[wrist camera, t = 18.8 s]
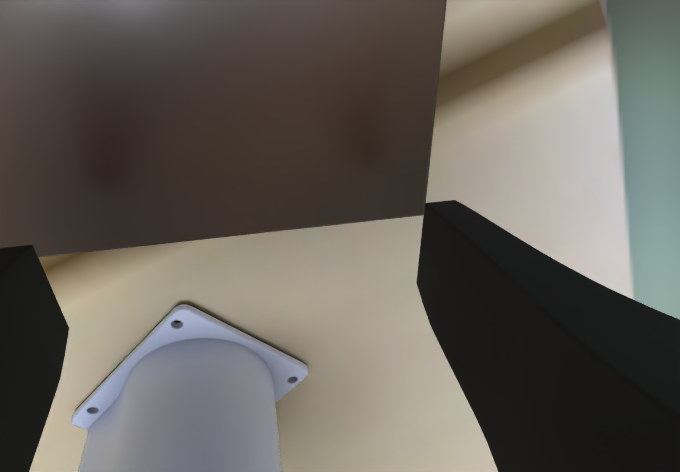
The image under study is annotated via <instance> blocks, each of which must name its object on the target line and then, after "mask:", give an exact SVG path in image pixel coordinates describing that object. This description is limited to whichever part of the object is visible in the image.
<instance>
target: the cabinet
mask: <svg viewBox="0 0 680 472" xmlns="http://www.w3.org/2000/svg"><path fill="white" fill-rule="evenodd" d="M446 1H447V0H0V248H5V247H15V246H24V245H33V247H34V249H35V252H36V254H37V256H38V257H46V256H55V255H64V254H74V253H83V252H92V251H101V250H110V249H119V248H128V247H137V246H147V245H156V244H165V243H174V242H183V241H192V240H201V239H210V238H219V237H229V236H238V235H247V234H256V233H265V232H274V231H283V230H292V229H302V228H311V227H320V226H329V225H338V224H347V223H356V222H365V221H374V220H384V219H393V218H402V217H411V216H420V215H424V209H425V203H426V194H427V184H428V175H429V165H430V155H431V146H432V136H433V127H434V117H435V107H436V98H437V88H438V78H439V69H440V59H441V49H442V40H443V30H444V21H445V11H446Z"/></svg>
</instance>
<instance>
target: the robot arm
mask: <svg viewBox="0 0 680 472" xmlns="http://www.w3.org/2000/svg"><path fill="white" fill-rule="evenodd" d="M417 286H418V289H419V292H420V295H421V298H422V302H423V305H424V308H425V311H426V313H427V316H428V319H429V322H430V325H431V327H432V329H433V331H434V333H435V336H436V338H437V340H438V342H439V344H440V346H441V348H442V350H443V352H444V354H445V356H446V358H447V360H448V362H449V364H450V366H451V368H452V370H453V372H454V374H455V376H456V378H457V380H458V382H459V384H460V386H461V388H462V390H463V392H464V394H465V396H466V398H467V400H468V402H469V404H470V406H471V408H472V410H473V412H474V414H475V416H476V418H477V420H478V423H479V425H480V427H481V429H482V432H483V434H484V436H485V438H486V440H487V443H488V445H489V448H490V451H491V453H492V456H493V459H494V461H495V464H496V467H497V469H498V472H680V320H679V319H677V318H674V317H672V316H669V315H667V314H665V313H662V312H660V311H657V310H655V309H653V308H650V307H648V306H646V305H644V304H642V303H639V302H637V301H635V300H633V299H631V298H628V297H626V296H624V295H622V294H619V293H617V292H615V291H613V290H611V289H609V288H607V287H605V286H603V285H601V284H599V283H597V282H595V281H593V280H591V279H589V278H587V277H585V276H583V275H582V274H580V273H578V272H576V271H574V270H572V269H570V268H568V267H567V266H565V265H563V264H561V263H559V262H558V261H556V260H554V259H552V258H551V257H549V256H547V255H545V254H544V253H542V252H540V251H538V250H537V249H535V248H533V247H532V246H530V245H528V244H527V243H525V242H523V241H522V240H520V239H519V238H517V237H515V236H514V235H512V234H510V233H509V232H507V231H506V230H504V229H502V228H501V227H499V226H498V225H496V224H494V223H493V222H491V221H490V220H488V219H486V218H485V217H483V216H481V215H480V214H478V213H477V212H475V211H473V210H472V209H470V208H468V207H467V206H465V205H463V204H461V203H459V202H457V201H455V200H451V201H442V202H432V203H425V209H424V218H423V228H422V237H421V247H420V256H419V266H418V275H417ZM175 320H178V321H181V322H179V323H176V322H173V321H175ZM68 331H69V327H68V325H67V322H66V320H65V318H64V316H63V313H62V311H61V309H60V306H59V304H58V302H57V300H56V297H55V295H54V293H53V290H52V288H51V286H50V284H49V281H48V279H47V277H46V274H45V272H44V270H43V268H42V265H41V263H40V261H39V258H38V256H37V254H36V252H35V249H34V247H33V245H24V246H15V247H5V248H0V472H29V470H30V467H31V464H32V461H33V458H34V455H35V452H36V449H37V446H38V443H39V441H40V438H41V435H42V432H43V429H44V426H45V423H46V420H47V417H48V414H49V411H50V408H51V405H52V402H53V399H54V396H55V393H56V390H57V387H58V383H59V380H60V376H61V371H62V366H63V361H64V356H65V350H66V344H67V338H68ZM307 375H308V368H307V365H305V364H304V363H302V362H300V361H298V360H296V359H294V358H292V357H290V356H288V355H286V354H284V353H282V352H280V351H278V350H277V349H275V348H273V347H271V346H269V345H267V344H265V343H263V342H261V341H259V340H257V339H255V338H253V337H251V336H249V335H247V334H245V333H243V332H241V331H239V330H237V329H235V328H233V327H231V326H229V325H227V324H225V323H223V322H221V321H219V320H218V319H216V318H214V317H212V316H210V315H208V314H206V313H204V312H202V311H200V310H198V309H196V308H194V307H192V306H190V305H187V304H182V305H178V306H176V307H175V308H174V309H173V310H172V311H171V312H170V313H169V314H168V315H167V316H166V317H165V318H164V319H163V320H162V321H161V322H160V323H159V324H158V326H157V327H156V328H155V329H154V330H153V331H152V332H151V333H150V334H149V335H148V336H147V337H146V338H145V339H144V340H143V341H142V342H141V343H140V344H139V345H138V346H137V347H136V348H135V349H134V350H133V352H132V353H131V354H130V355H129V356H128V357H127V358H126V359H125V360H124V361H123V362H122V363H121V364H120V365H119V366H118V367H117V368H116V369H115V370H114V371H113V372H112V373H111V374H110V375H109V377H108V378H107V379H106V380H105V381H104V382H103V383H102V384H101V385H100V386H99V387H98V388H97V389H96V390H95V391H94V392H93V393H92V394H91V395H90V396H89V397H88V398H87V399H86V400H85V401H84V403H83V404H82V405H81V406H80V407H79V408H78V409H77V410H76V411H75V412H74V413H73V415H72V419H71V422H72V423H73V425H75V426H77V427H80V428H83V429H86V430H88V433H87V437H86V441H85V445H84V449H83V453H82V457H81V461H80V465H79V469H78V472H282V467H281V457H280V447H279V437H278V427H277V417H276V407H275V403H276V402H277V401H278V400H280V399H281V398H282V397H283V396H284V395H285V394H287V393H288V392H289V391H290V390H291V389H292V388H294V387H295V386H296V385H297V384H298V383H299V382H301V381H302V380H303V379H304V378H305V377H306V376H307ZM293 376H294V377H293Z"/></svg>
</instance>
